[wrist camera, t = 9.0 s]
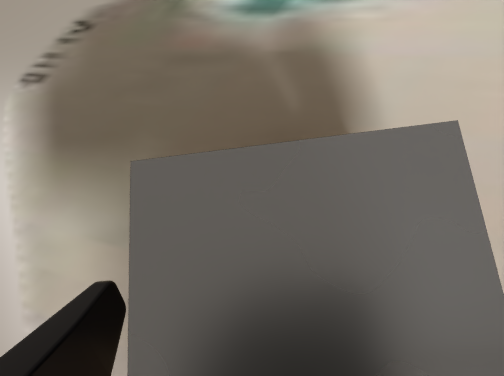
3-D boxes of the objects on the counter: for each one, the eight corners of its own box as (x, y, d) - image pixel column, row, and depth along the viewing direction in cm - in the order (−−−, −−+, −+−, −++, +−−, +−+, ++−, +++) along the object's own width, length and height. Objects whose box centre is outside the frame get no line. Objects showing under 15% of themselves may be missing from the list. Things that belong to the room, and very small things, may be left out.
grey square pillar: (352, 301, 16) (528, 390, 4) (252, 308, 17) (127, 407, 4) (340, 222, 17) (450, 95, 5) (246, 232, 18) (131, 138, 5)
